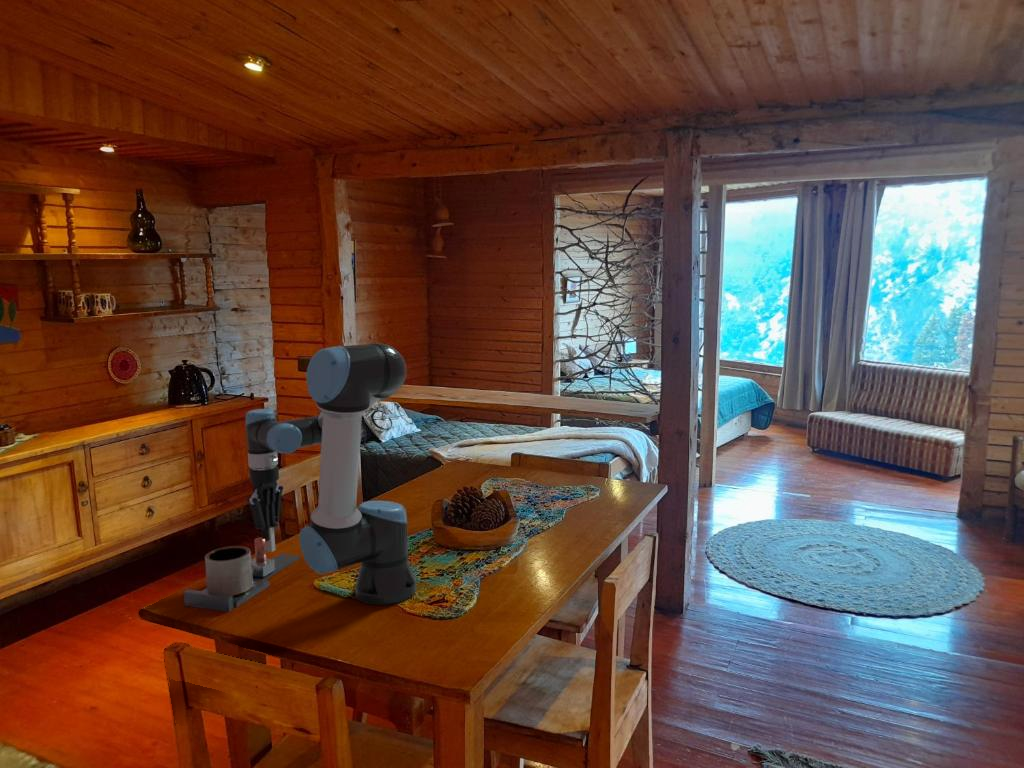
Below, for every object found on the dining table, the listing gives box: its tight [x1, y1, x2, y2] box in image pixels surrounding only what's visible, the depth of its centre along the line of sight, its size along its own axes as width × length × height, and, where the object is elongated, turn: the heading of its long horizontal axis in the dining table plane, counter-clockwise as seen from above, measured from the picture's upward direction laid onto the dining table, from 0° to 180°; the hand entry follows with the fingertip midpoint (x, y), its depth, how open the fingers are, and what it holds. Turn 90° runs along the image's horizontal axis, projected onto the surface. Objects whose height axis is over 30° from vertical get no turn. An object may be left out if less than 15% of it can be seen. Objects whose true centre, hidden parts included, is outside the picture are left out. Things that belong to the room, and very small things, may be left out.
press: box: [183, 553, 301, 613], centre depth 193 cm, size 34×13×4 cm, turn 162°
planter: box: [204, 545, 253, 596], centre depth 184 cm, size 11×11×10 cm
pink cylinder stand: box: [251, 536, 275, 577], centre depth 193 cm, size 9×6×9 cm, turn 162°
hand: (269, 550), depth 200 cm, fingers closed
